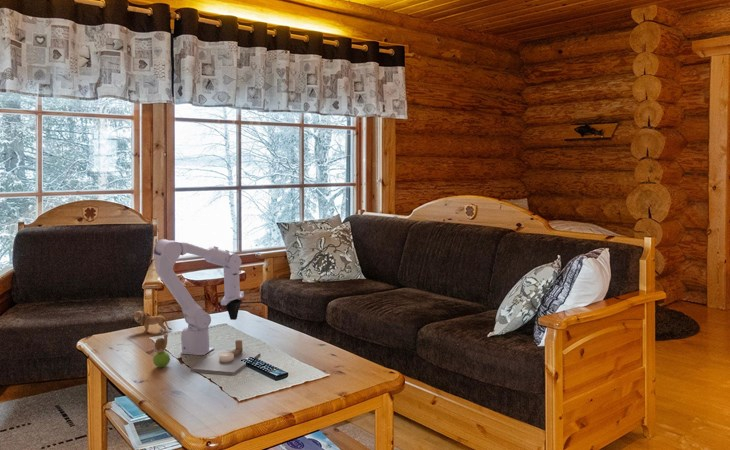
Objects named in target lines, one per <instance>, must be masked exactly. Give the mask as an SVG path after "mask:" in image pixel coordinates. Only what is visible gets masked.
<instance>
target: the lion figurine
mask: <svg viewBox="0 0 730 450" xmlns="http://www.w3.org/2000/svg"><path fill="white" fill-rule="evenodd" d="M134 320H135V322H137V323H138V324H139V325H140V326H144V329H145V330H144V331H143V333H145V334H146V333H148V331H149V329H150V328H149V327H150V326H154V325H155V326H156V325H157V324H158V326H159V327H160V329H159V331H161V332H162V331H163V333H164V334H166V332H165V330H166V331H167V330H168V331H172V330H173V328H171V327H169V325H168V323H167V320H166V318H165V317H164V316H163V315H154V316H152V315H151V314H149V313H147V312H145V311H143V310H136V312H134Z"/></svg>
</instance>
